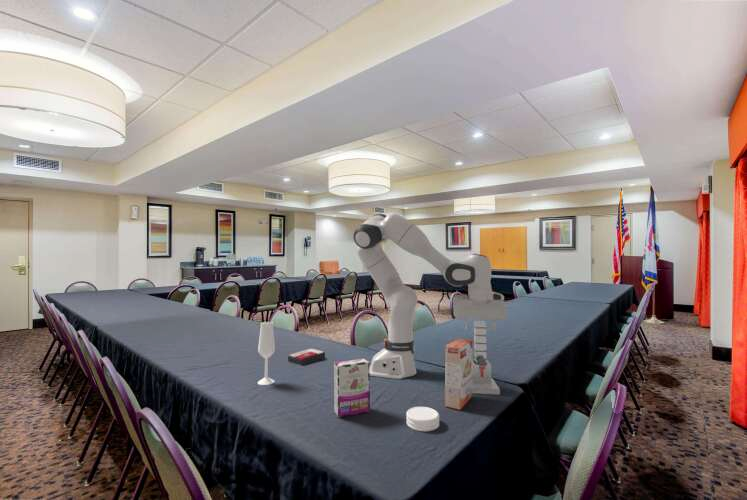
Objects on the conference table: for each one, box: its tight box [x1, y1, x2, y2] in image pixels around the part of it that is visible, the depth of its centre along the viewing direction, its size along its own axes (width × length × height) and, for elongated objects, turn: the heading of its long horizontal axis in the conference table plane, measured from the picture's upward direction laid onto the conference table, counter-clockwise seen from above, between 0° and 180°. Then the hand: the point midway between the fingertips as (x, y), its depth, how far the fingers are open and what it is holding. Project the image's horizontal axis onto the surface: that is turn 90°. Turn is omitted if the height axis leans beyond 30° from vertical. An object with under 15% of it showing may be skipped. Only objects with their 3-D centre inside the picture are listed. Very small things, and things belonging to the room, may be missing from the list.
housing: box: [472, 358, 501, 396], centre depth 135 cm, size 12×12×12 cm
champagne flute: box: [257, 321, 276, 386], centre depth 141 cm, size 7×7×24 cm
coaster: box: [405, 406, 440, 432], centre depth 105 cm, size 10×10×4 cm
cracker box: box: [444, 338, 474, 411], centre depth 121 cm, size 14×6×21 cm, turn 148°
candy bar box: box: [333, 358, 371, 418], centre depth 113 cm, size 11×5×16 cm, turn 113°
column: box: [473, 320, 488, 364], centre depth 135 cm, size 4×4×20 cm
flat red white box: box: [287, 348, 326, 366], centre depth 172 cm, size 11×4×15 cm
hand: (480, 330), depth 135 cm, fingers open, 8 cm apart
